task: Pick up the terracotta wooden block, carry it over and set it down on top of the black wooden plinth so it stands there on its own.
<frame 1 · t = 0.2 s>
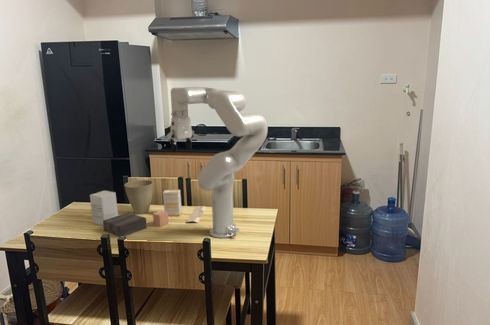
hand: (181, 150, 178), 36 cm above the table, tool pointing down, fingers open, 9 cm apart
supplement box: (173, 215, 196), on the table
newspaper: (197, 216, 195), on the table
supplement box 2: (105, 222, 188), on the table
terracotta block: (161, 224, 183), on the table
black plinth: (125, 229, 178), on the table
plant pot: (141, 212, 202), on the table
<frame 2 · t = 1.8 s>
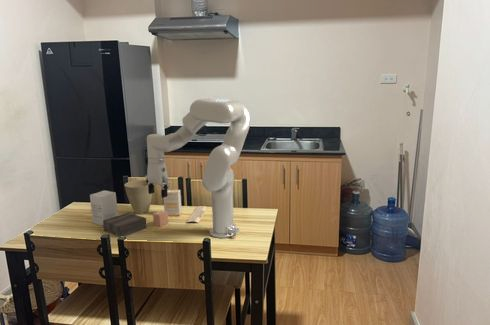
hand: (158, 195, 180), 15 cm above the table, tool pointing down, fingers open, 9 cm apart
nothing on the table moved.
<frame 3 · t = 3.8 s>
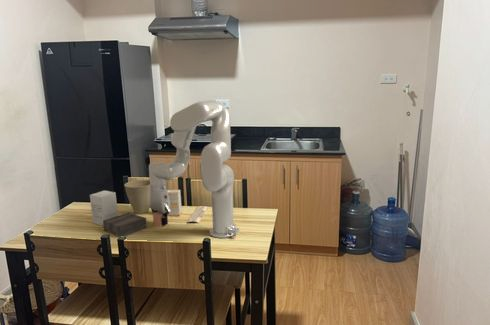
hand: (160, 223, 183), 1 cm above the table, tool pointing down, fingers closed on terracotta block, 5 cm apart
terracotta block: (161, 224, 183), on the table, touching gripper
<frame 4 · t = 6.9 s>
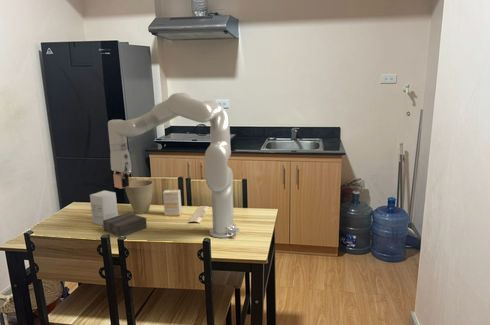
hand: (122, 185, 173), 22 cm above the table, tool pointing down, fingers closed on terracotta block, 5 cm apart
terracotta block: (122, 186, 173), point 21 cm above the table, touching gripper
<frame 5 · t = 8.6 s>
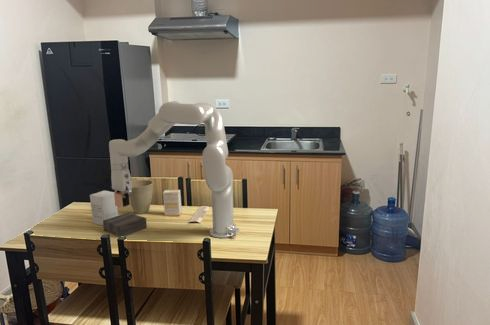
hand: (122, 203, 175), 13 cm above the table, tool pointing down, fingers closed on terracotta block, 5 cm apart
terracotta block: (122, 205, 175), point 12 cm above the table, touching gripper
when the fingers open (7 cm above the table, at t = 10.1 s): terracotta block drops 1 cm, resting on black plinth.
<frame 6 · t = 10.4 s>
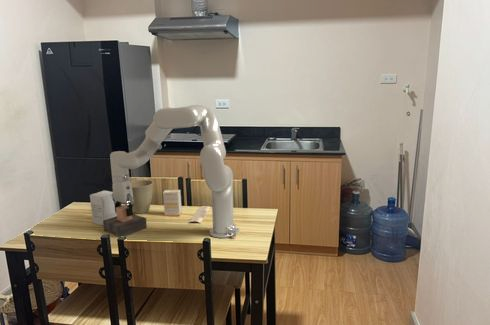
hand: (124, 213, 176), 8 cm above the table, tool pointing down, fingers open, 8 cm apart
terracotta block: (124, 219, 177), point 5 cm above the table, touching black plinth
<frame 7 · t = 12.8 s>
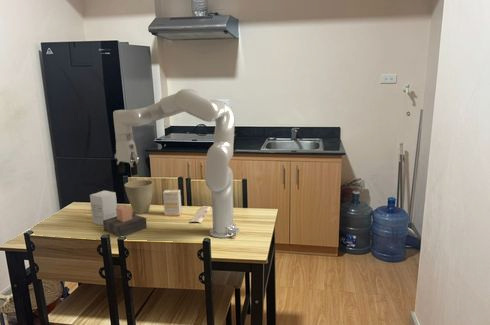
hand: (128, 173, 173), 27 cm above the table, tool pointing down, fingers open, 9 cm apart
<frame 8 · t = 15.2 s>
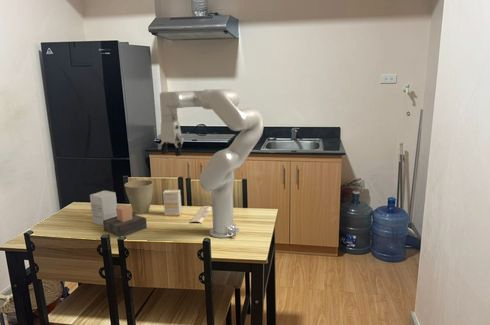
hand: (171, 154, 178), 34 cm above the table, tool pointing down, fingers open, 9 cm apart
at the end: terracotta block inside the target area on the black plinth (0.1 cm from its centre), point 5.0 cm above the black plinth's base; terracotta block tilted 0°; the gripper is holding nothing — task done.
